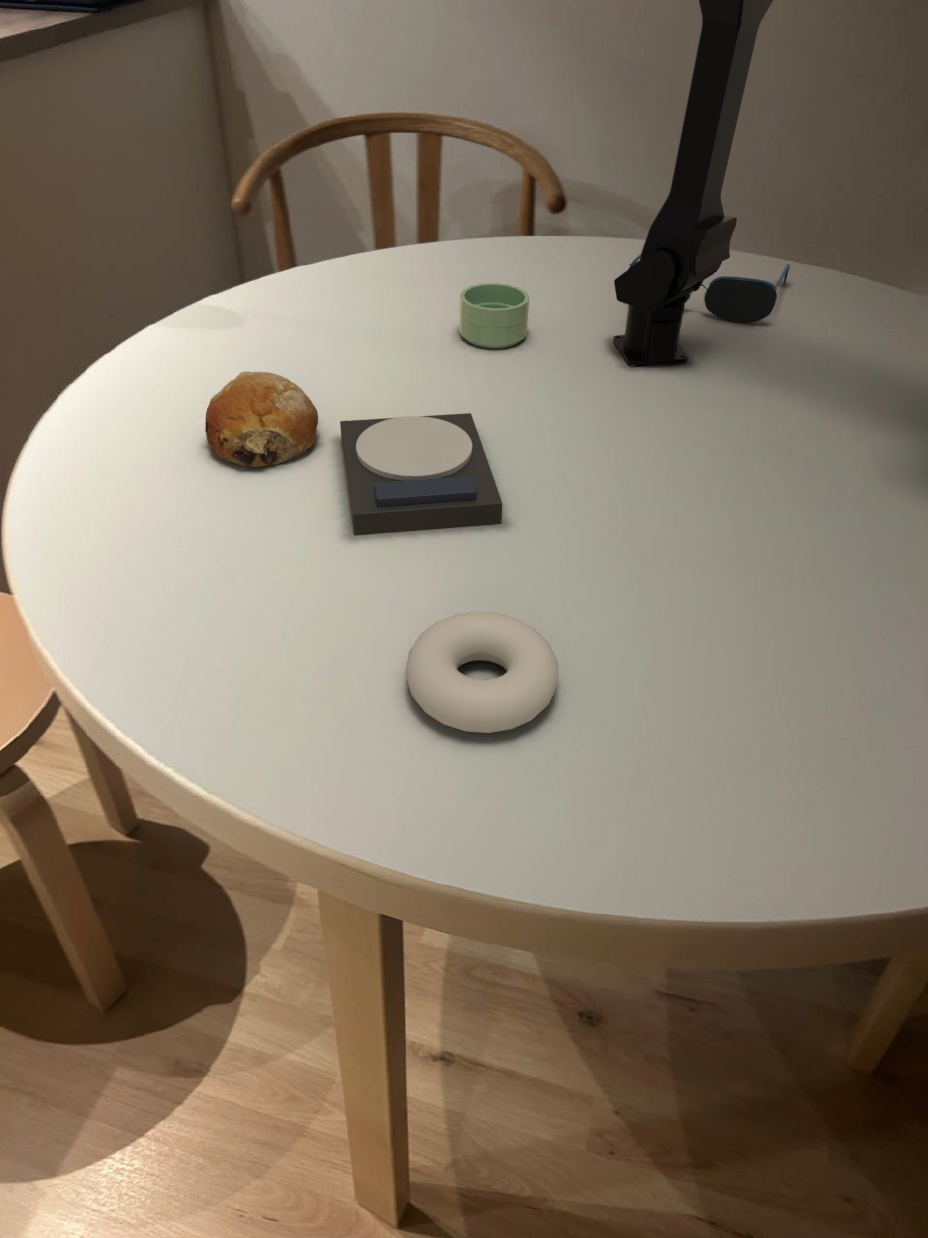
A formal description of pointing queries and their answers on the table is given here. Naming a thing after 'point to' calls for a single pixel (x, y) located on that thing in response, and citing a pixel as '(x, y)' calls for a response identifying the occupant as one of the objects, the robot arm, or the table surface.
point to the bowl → (493, 315)
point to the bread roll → (260, 420)
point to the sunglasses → (739, 297)
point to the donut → (479, 699)
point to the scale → (417, 474)
